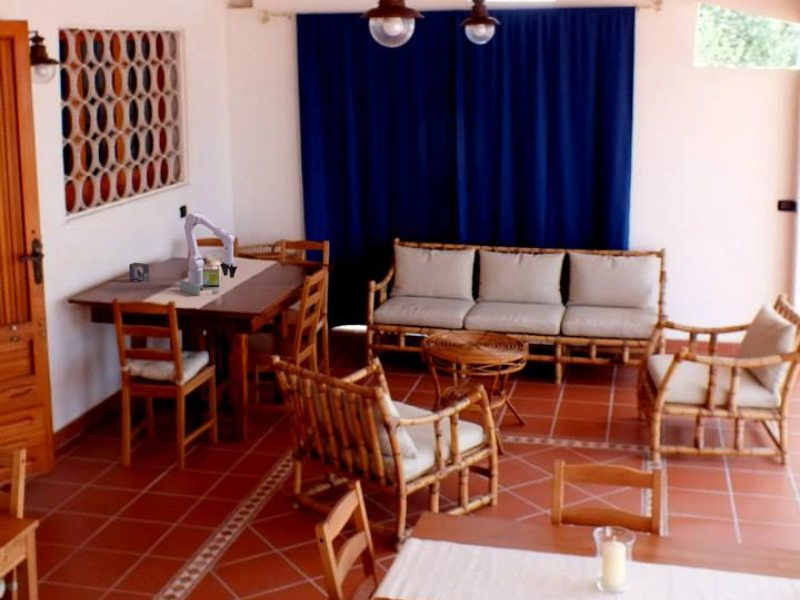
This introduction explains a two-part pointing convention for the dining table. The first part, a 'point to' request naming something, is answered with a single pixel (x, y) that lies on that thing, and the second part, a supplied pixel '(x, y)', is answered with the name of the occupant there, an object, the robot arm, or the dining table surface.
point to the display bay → (193, 288)
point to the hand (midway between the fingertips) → (228, 276)
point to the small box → (139, 271)
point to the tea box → (211, 278)
